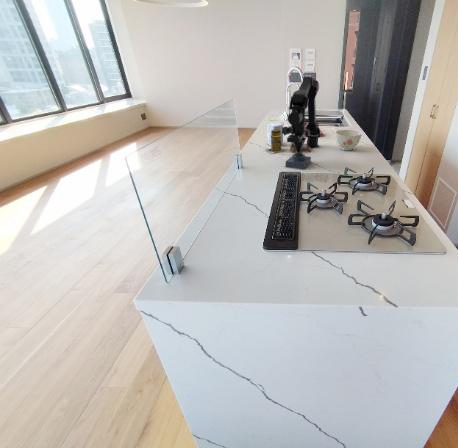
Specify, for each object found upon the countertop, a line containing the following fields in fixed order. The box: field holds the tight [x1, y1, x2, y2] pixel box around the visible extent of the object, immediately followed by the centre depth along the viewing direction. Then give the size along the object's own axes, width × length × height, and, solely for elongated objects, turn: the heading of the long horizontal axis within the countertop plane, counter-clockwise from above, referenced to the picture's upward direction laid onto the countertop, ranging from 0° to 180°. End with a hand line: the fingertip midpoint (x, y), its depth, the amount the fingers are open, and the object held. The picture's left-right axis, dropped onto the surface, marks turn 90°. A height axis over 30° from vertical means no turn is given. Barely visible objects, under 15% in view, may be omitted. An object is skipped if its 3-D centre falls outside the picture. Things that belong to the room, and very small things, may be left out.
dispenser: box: [285, 153, 312, 170], centre depth 151 cm, size 12×10×5 cm
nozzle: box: [294, 151, 303, 157], centre depth 150 cm, size 4×4×2 cm
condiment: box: [266, 130, 284, 154], centre depth 170 cm, size 7×8×12 cm
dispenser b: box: [290, 142, 311, 154], centre depth 173 cm, size 10×8×4 cm
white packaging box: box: [266, 122, 284, 146], centre depth 181 cm, size 7×7×13 cm
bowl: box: [334, 129, 363, 151], centre depth 176 cm, size 16×16×10 cm
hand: (298, 152), depth 149 cm, fingers closed
